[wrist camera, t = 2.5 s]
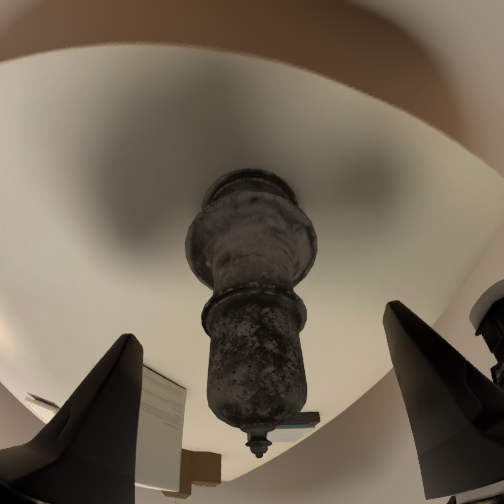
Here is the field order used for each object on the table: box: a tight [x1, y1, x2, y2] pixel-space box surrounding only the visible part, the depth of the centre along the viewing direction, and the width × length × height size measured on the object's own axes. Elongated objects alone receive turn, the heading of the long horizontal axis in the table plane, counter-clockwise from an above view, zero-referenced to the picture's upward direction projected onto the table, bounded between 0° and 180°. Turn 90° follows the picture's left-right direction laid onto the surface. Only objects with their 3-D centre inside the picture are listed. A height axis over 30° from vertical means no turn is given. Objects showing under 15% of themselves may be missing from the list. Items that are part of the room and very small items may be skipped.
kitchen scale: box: [247, 412, 320, 442], centre depth 35 cm, size 11×8×2 cm
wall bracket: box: [25, 397, 60, 423], centre depth 45 cm, size 10×7×28 cm
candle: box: [161, 449, 221, 504], centre depth 46 cm, size 14×14×15 cm
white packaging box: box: [135, 366, 186, 492], centre depth 22 cm, size 7×7×13 cm
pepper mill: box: [185, 169, 318, 458], centre depth 10 cm, size 6×6×12 cm
